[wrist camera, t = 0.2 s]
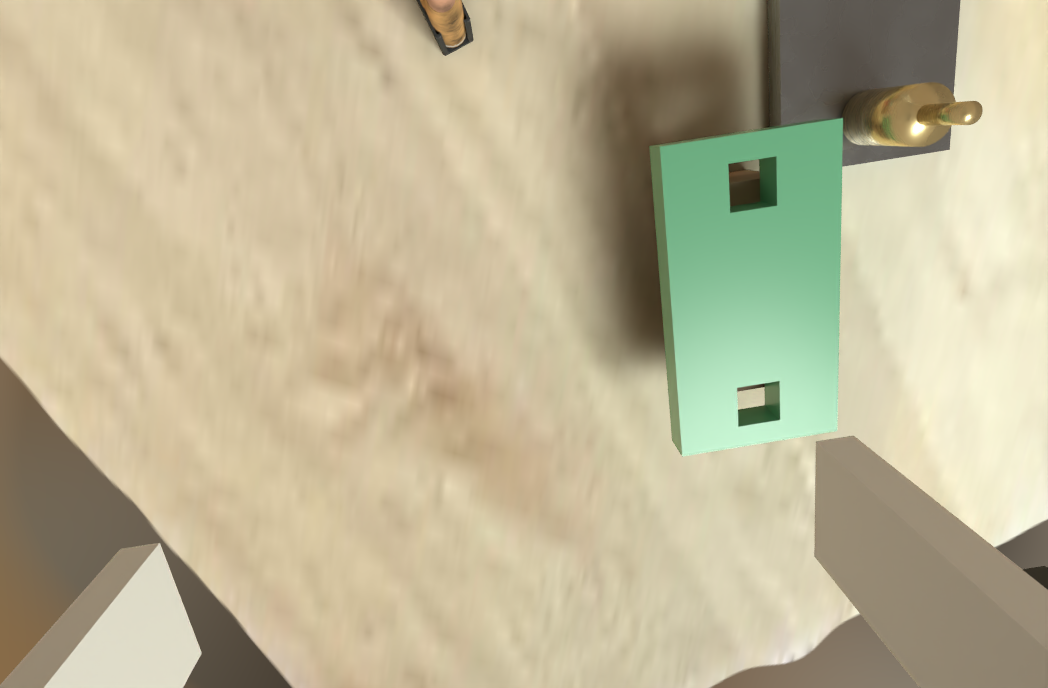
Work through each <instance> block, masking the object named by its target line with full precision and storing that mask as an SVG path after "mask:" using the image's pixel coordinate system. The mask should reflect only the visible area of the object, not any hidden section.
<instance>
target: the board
mask: <svg viewBox="0 0 1048 688" xmlns="http://www.w3.org/2000/svg"><path fill="white" fill-rule="evenodd" d="M842 147H843V118H833V119H819V120H812V121H806V122H800V123H793V124H787V125H780V126H774V127H768V128H761V129H755V130H748V131H742V132H736V133H729V134H723V135H716V136H710V137H704V138H697V139H691V140H684V141H678V142H672V143H665V144H659V145H652V146H649V149H650V161H651V174H652V187H653V200H654V213H655V226H656V239H657V252H658V265H659V277H660V290H661V303H662V316H663V329H664V342H665V355H666V368H667V380H668V393H669V406H670V419H671V432H672V441H673V442H674V444H675V446H676V447H677V449H678V450H679V452H680V454H681V455H682V456H688V455H694V454H700V453H706V452H713V451H719V450H725V449H731V448H737V447H743V446H749V445H755V444H761V443H767V442H773V441H780V440H786V439H792V438H798V437H804V436H810V435H816V434H822V433H828V432H834V431H837V416H838V362H839V308H840V255H841V201H842ZM756 159H759V166H760V202H755V203H749V204H742V205H736V206H730V194H729V168H728V164H731V163H737V162H743V161H750V160H756ZM758 384H765V405H764V406H758V407H752V408H746V409H740V410H738V402H737V388H739V387H745V386H752V385H758Z"/></svg>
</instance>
